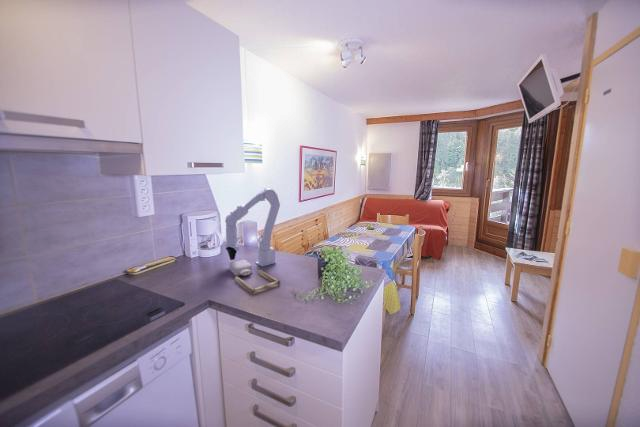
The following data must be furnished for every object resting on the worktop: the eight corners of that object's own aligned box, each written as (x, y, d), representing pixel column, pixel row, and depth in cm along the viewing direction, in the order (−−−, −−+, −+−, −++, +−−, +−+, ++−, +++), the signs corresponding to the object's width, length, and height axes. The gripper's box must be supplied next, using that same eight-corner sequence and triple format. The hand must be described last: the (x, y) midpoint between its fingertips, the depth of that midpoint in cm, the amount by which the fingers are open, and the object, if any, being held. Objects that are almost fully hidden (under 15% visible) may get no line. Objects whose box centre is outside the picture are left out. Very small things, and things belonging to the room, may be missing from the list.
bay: (260, 273, 138) (260, 269, 138) (279, 285, 125) (279, 281, 125) (234, 280, 129) (234, 276, 128) (252, 294, 116) (252, 290, 115)
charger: (239, 281, 129) (229, 270, 141) (256, 276, 134) (246, 267, 146) (238, 272, 128) (229, 262, 140) (256, 268, 134) (246, 259, 145)
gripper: (219, 234, 146) (220, 257, 149) (230, 240, 136) (231, 264, 138) (231, 232, 151) (232, 254, 153) (242, 238, 140) (243, 261, 143)
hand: (232, 259), depth 146 cm, fingers closed
